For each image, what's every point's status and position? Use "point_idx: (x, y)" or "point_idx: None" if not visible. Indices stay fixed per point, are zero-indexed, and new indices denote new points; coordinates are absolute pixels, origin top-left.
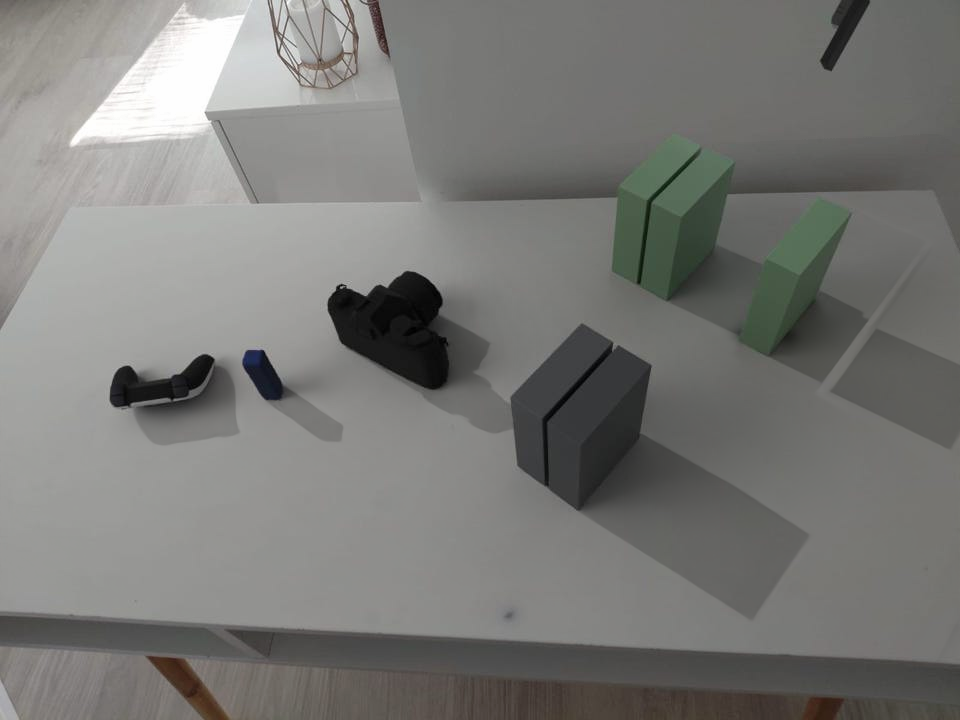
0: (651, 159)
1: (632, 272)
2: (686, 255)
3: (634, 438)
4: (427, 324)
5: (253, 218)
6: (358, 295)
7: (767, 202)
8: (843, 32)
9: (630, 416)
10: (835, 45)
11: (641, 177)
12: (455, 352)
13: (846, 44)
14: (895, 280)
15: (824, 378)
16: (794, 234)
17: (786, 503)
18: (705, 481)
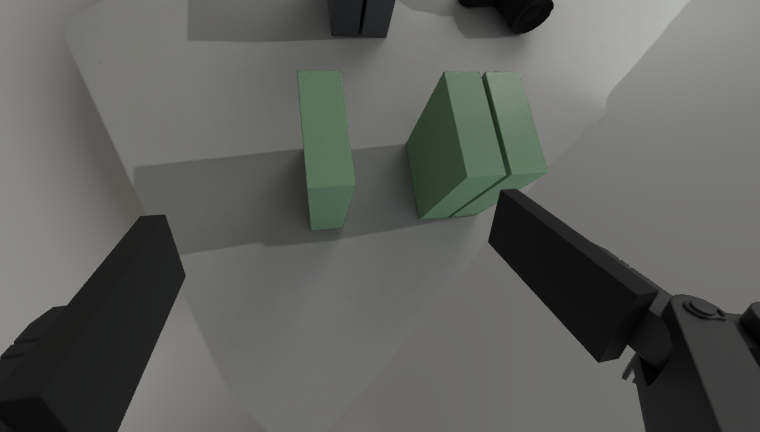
0: (529, 122)
1: None
2: (421, 144)
3: (331, 21)
4: (503, 2)
5: (659, 27)
6: None
7: (425, 310)
8: (546, 221)
9: None
10: (526, 205)
11: (514, 94)
12: (474, 21)
13: (520, 276)
14: (260, 308)
15: (252, 159)
16: (338, 115)
17: (215, 50)
18: (273, 34)
